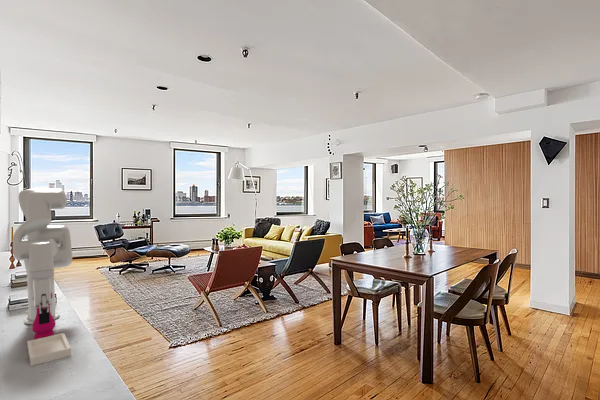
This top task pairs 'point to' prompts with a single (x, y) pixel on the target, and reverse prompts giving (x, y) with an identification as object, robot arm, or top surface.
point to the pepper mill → (46, 328)
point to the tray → (48, 349)
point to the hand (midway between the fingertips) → (43, 320)
